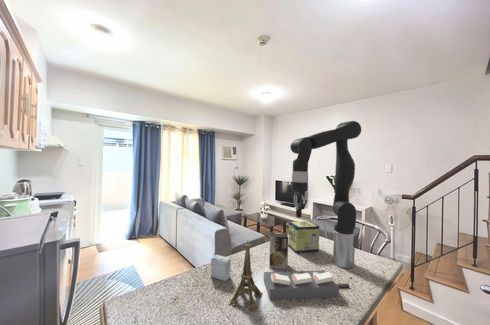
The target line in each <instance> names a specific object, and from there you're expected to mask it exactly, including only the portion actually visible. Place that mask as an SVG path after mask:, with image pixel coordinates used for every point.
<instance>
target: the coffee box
mask: <svg viewBox="0 0 490 325" xmlns="http://www.w3.org/2000/svg"><path fill="white" fill-rule="evenodd" d="M288 241H289V234H288V232H278V231H270V232H269V261H268V263H269V264H268V267H269V268H270V269H283V270H288V267H289V266H288V263H289V262H288V261H289V259H288V257H289V252H288V251H289V246H288Z"/></svg>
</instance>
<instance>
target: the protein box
mask: <svg viewBox="0 0 490 325" xmlns="http://www.w3.org/2000/svg"><path fill="white" fill-rule="evenodd" d="M288 248H290V249H291V250H292V251H293V252H294V253H295V254H304V253H317V252H319V251H320V250H319V249H320V225H318V224H316V223H315V222H312V221H311V220H306V221H289V222H288Z"/></svg>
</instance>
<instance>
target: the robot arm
mask: <svg viewBox="0 0 490 325" xmlns="http://www.w3.org/2000/svg"><path fill="white" fill-rule="evenodd" d="M361 133H362V126H361V124H360V123H359V122H358V121H356V120H351V121H344V122H340V123H338V124H337V125H336V127H335V128H334V129H330V130H324V131H320V132H318V133H314V134H312V135H309V136H306V137H301V138H296V139H294V140H293V141H291V144H290V151H292V153H293V154H297V157H296V158H295V159H293V162H292V172H291V189H290V190H291V191H293V193H294V194H293V195H292V202H293V206H294V208H295V217H296V218H297V219H298V218H302V212H303V210H305V207H306V204H307V203H308V200H307V199H305V198H306V196H305V192H308V191H309V190H308V189H309V172H308V171H309V161H310V158H311V154H312V151H313V150H316V149H320V148H323V147H326V146H327V145H331V144H334V143H335V151H336V152H335V156H336V158H335V172H334V173H335V176H334V177H335V178H334V179H335V180H334V181H335V182H334V186H335V187H334V188H335V190H334V197H333V203H332V211H333V212H334V215H336V216H337V218H336V219H337V221H336V224H334V226H333V227H334V228H333V253H332V254H333V255H332V257H333V258H332V262H333V264H334V265H335V266H337V267H339V268H341V269H343V268H344V269H351V268H353V267H355V252H356V250H355V249H356V248H355V247H354V234H355V233H354V231H355V229H356V225H357V224H356V223H357V210H356V207H355V205H354V204H352V203H351V202H350V199H349V198H350V196H349V195H350V189H351V187H352V184H353V182H354V180H355V173H356V171H355V170H356V169H355V168H356V164H355V161H354V159H353V157H352V154H350V151H349V148H348V143H349V142H348V141H349V140H353V139H356V138H358V137H359V136H360V135H361Z"/></svg>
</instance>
